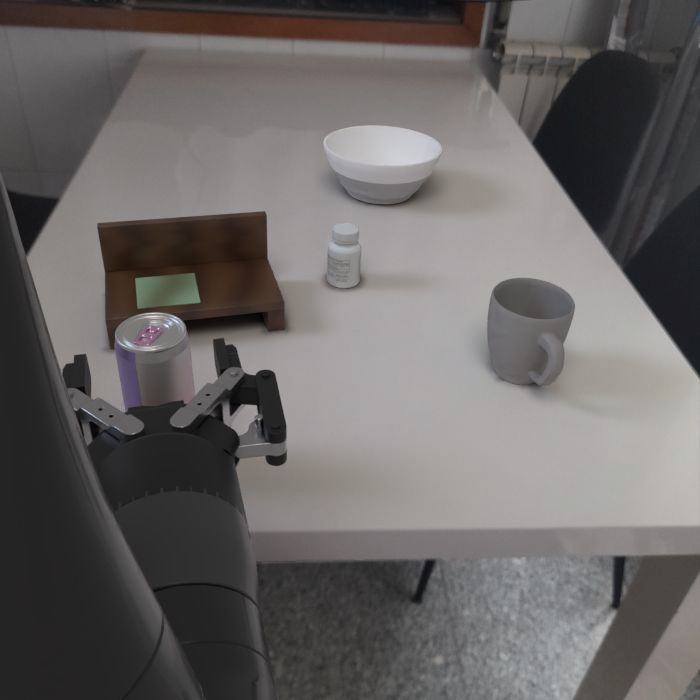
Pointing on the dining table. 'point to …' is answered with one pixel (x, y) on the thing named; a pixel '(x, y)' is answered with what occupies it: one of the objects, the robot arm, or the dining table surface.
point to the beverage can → (154, 360)
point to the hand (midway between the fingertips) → (152, 357)
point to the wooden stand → (189, 269)
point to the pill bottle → (344, 256)
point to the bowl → (381, 161)
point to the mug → (528, 330)
